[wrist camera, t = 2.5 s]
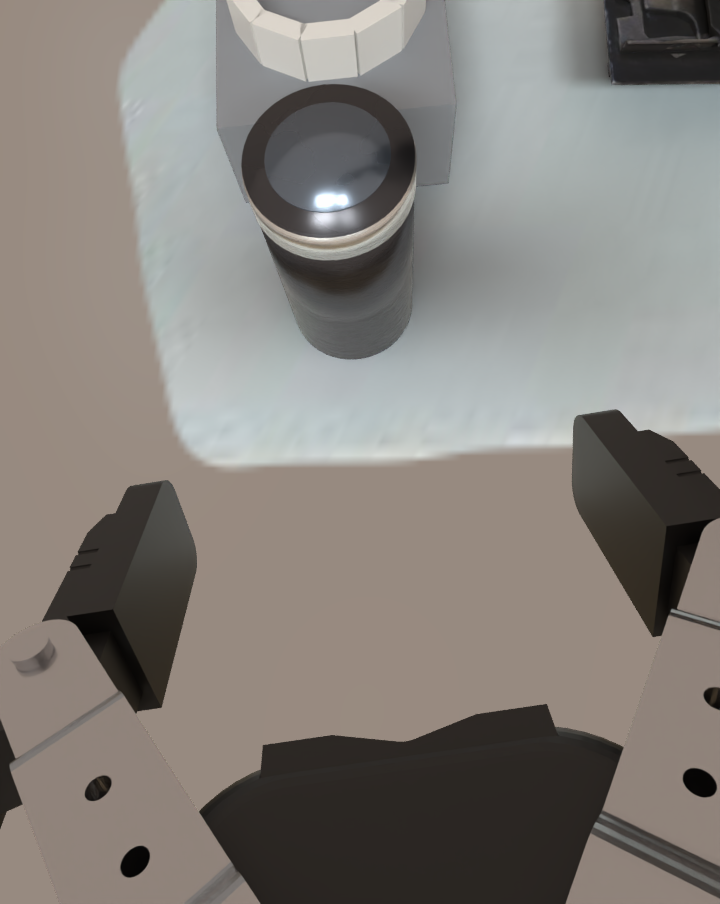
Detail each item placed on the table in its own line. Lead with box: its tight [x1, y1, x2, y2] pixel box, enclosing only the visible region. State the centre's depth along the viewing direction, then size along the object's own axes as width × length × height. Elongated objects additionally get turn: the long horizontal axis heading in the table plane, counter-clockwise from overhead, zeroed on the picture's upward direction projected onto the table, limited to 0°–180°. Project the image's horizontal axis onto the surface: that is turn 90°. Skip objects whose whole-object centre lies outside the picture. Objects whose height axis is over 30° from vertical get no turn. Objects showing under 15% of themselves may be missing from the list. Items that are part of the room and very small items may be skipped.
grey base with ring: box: [216, 0, 456, 202], centre depth 29 cm, size 10×12×7 cm
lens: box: [241, 84, 417, 359], centre depth 25 cm, size 6×6×10 cm
